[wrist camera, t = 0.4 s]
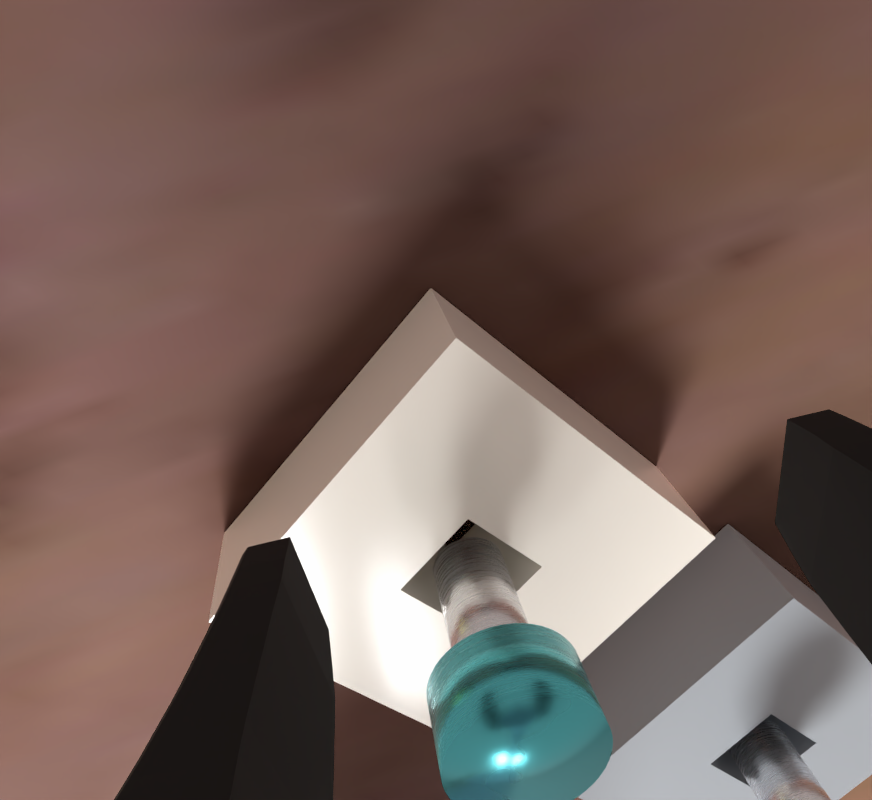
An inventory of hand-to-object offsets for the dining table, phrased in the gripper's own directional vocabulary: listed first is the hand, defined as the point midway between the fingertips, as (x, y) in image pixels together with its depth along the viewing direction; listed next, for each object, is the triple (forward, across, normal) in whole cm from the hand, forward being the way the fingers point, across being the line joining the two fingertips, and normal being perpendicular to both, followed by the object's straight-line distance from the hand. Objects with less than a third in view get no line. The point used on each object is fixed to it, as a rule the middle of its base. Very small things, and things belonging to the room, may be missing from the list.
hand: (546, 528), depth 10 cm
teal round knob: (+7, +1, +8) cm, 10 cm away
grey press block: (+9, -7, +19) cm, 22 cm away
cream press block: (+10, +1, +8) cm, 13 cm away
